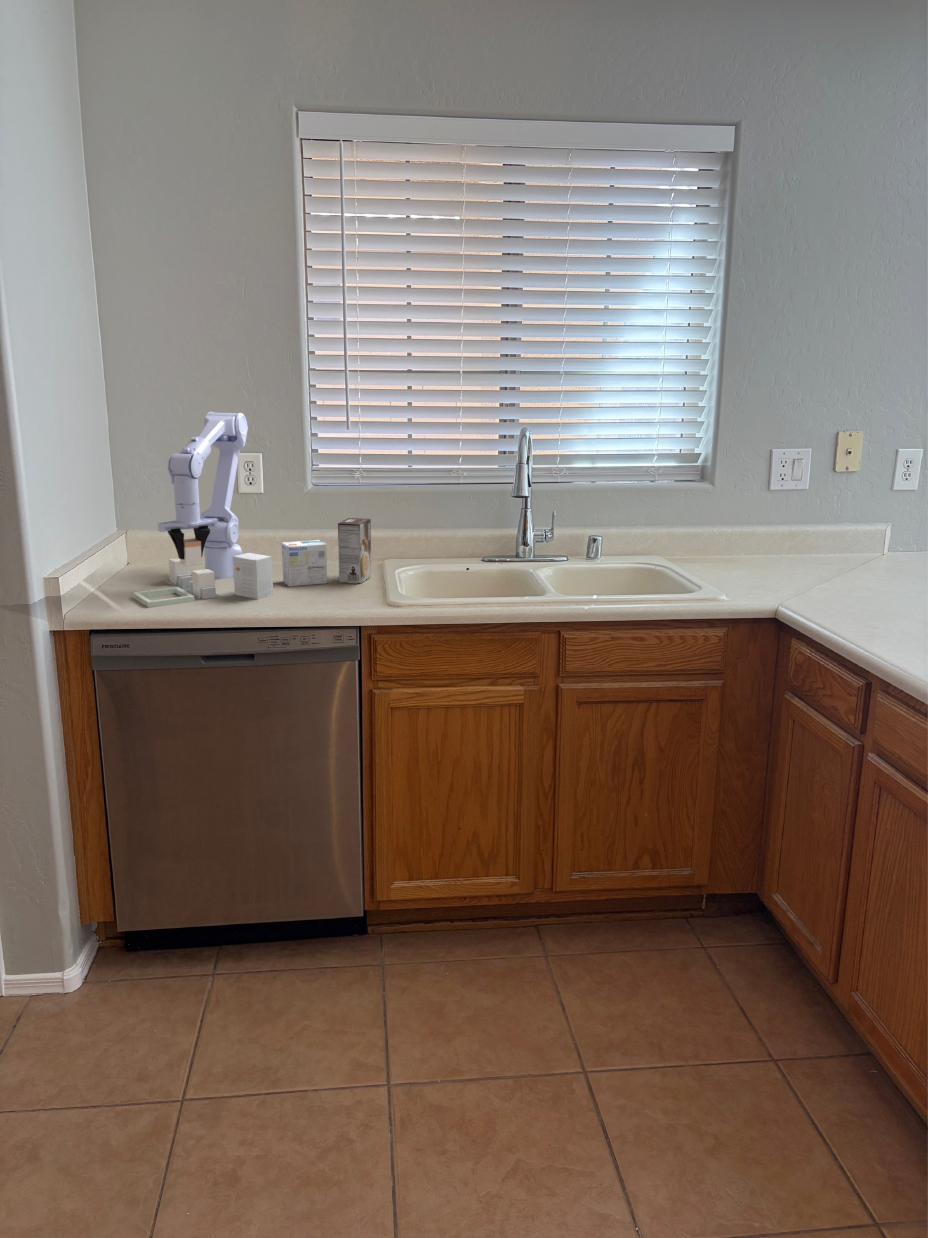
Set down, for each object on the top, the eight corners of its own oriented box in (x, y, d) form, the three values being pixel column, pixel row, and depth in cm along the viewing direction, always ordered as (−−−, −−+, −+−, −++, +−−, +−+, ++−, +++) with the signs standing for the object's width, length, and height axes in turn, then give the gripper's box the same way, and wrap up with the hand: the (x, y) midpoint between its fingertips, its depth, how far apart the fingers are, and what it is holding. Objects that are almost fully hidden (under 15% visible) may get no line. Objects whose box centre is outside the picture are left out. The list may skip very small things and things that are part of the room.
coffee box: (349, 575, 253) (348, 517, 249) (371, 576, 252) (371, 518, 248) (338, 582, 245) (337, 522, 240) (361, 584, 243) (360, 523, 239)
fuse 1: (185, 579, 240) (184, 557, 239) (191, 582, 237) (189, 560, 235) (170, 581, 238) (168, 558, 236) (175, 584, 235) (174, 561, 233)
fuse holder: (187, 581, 242) (186, 569, 241) (221, 599, 225) (220, 586, 224) (165, 584, 238) (164, 571, 238) (197, 603, 221) (197, 589, 220)
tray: (178, 594, 228) (177, 586, 228) (194, 604, 220) (194, 596, 219) (133, 600, 222) (132, 592, 222) (148, 610, 214) (148, 602, 213)
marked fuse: (196, 561, 232) (194, 538, 231) (202, 564, 229) (200, 541, 228) (180, 563, 230) (178, 539, 228) (186, 566, 227) (184, 542, 225)
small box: (274, 598, 227) (272, 556, 225) (257, 602, 223) (256, 559, 220) (250, 593, 232) (248, 552, 229) (234, 597, 227) (232, 555, 224)
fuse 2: (209, 592, 228) (207, 568, 226) (215, 595, 225) (214, 571, 223) (193, 594, 226) (192, 570, 224) (199, 598, 222) (198, 573, 221)
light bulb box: (320, 578, 249) (319, 538, 246) (328, 583, 243) (327, 543, 240) (281, 581, 245) (280, 541, 242) (288, 587, 239) (287, 546, 236)
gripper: (163, 507, 218) (167, 563, 222) (221, 503, 227) (224, 557, 230) (153, 503, 224) (157, 558, 227) (210, 499, 232) (213, 552, 236)
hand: (190, 557), depth 229 cm, fingers closed on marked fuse, 4 cm apart
